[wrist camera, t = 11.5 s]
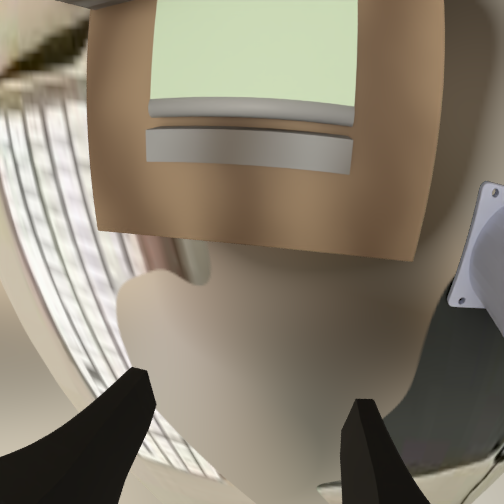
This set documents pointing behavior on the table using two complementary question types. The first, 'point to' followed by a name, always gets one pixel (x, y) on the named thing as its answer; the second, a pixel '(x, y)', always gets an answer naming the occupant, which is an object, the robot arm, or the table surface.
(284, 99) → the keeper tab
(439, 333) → the table surface
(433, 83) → the board
